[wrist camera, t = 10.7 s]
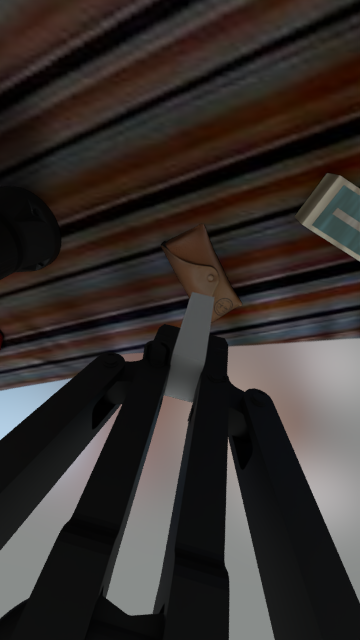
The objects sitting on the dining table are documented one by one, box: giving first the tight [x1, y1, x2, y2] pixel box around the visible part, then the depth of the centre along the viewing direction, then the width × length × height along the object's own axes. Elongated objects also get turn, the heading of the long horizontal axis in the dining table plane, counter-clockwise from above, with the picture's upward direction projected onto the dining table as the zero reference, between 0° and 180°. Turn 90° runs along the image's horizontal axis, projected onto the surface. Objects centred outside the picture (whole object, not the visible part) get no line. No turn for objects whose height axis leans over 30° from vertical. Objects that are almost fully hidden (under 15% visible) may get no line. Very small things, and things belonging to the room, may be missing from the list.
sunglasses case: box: [161, 224, 242, 323], centre depth 51 cm, size 18×7×7 cm
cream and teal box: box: [295, 173, 360, 261], centre depth 40 cm, size 6×7×14 cm
